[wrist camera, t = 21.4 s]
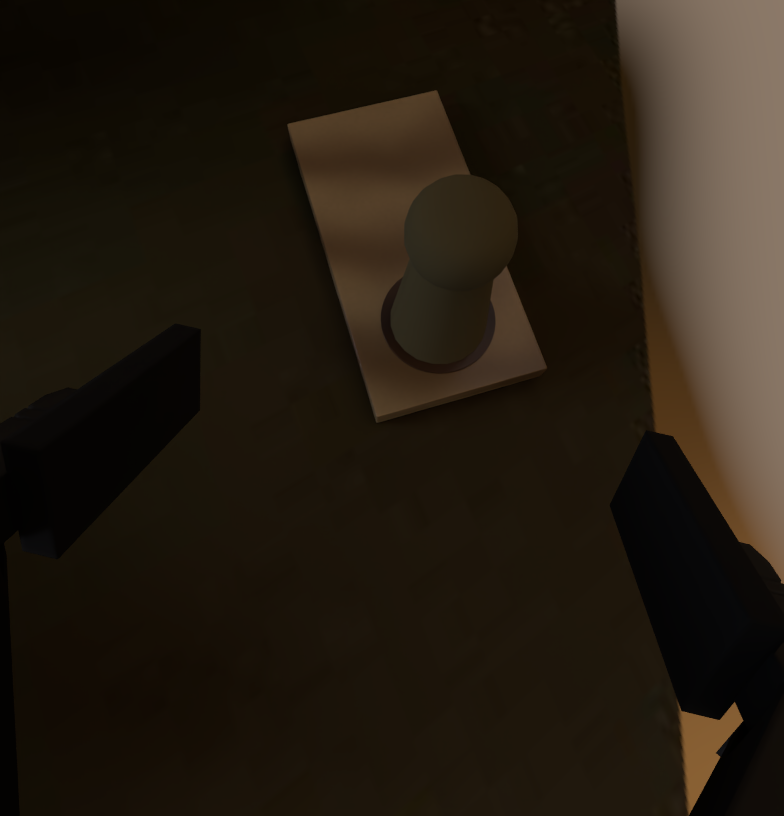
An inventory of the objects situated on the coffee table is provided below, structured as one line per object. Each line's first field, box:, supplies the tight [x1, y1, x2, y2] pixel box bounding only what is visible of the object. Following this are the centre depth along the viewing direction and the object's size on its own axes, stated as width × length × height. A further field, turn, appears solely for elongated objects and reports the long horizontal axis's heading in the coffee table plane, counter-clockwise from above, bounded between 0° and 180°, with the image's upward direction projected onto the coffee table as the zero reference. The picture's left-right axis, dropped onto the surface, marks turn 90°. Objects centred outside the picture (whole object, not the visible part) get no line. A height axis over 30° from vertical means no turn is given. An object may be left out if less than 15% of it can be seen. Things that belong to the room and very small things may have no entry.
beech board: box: [287, 91, 547, 423], centre depth 36 cm, size 22×11×2 cm, turn 17°
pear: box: [391, 174, 518, 364], centre depth 28 cm, size 6×6×11 cm
